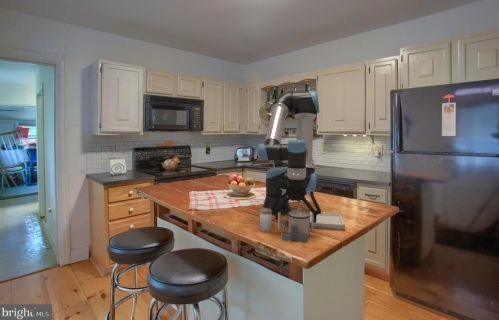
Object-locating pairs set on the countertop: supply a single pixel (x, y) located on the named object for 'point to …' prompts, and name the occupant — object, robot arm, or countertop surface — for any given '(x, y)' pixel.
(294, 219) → the teacup with lid
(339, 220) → the tray
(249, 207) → the countertop surface
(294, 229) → the clip cradle
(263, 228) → the jar
